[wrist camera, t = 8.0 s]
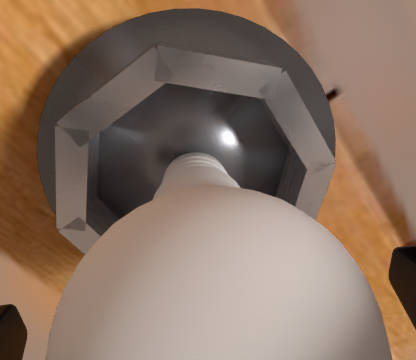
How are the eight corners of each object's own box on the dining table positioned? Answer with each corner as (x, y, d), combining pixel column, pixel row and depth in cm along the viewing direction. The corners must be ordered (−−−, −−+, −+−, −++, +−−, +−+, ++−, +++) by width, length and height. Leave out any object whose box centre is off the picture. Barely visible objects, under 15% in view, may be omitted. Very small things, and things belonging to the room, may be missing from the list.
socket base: (360, 180, 17) (405, 219, 13) (166, 298, 19) (166, 356, 16) (229, -68, 12) (251, -99, 8) (-15, 132, 14) (-70, 167, 11)
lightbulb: (100, 110, 12) (-195, 482, 2) (264, 88, 13) (607, 347, 3) (135, 244, 15) (61, 681, 5) (269, 225, 15) (448, 606, 5)
